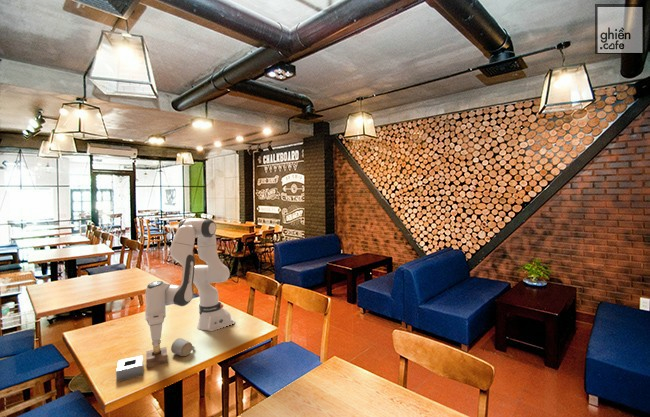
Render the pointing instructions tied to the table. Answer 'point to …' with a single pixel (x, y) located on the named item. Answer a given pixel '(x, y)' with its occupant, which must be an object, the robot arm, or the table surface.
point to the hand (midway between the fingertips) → (155, 342)
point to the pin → (156, 348)
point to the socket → (129, 368)
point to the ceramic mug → (181, 347)
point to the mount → (156, 357)
